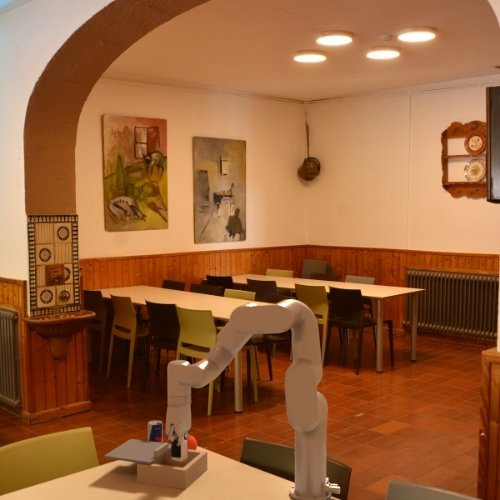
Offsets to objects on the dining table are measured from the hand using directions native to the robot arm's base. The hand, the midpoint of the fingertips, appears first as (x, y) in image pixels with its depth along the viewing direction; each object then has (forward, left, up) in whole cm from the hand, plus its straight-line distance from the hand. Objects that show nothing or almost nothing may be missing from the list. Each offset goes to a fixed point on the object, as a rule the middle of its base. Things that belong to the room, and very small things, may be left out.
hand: (179, 453), depth 213 cm
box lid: (+15, 0, -1) cm, 15 cm away
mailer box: (+2, 0, -8) cm, 8 cm away
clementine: (+6, -19, -8) cm, 22 cm away
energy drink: (+16, -14, -8) cm, 23 cm away
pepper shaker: (0, 0, -2) cm, 2 cm away
